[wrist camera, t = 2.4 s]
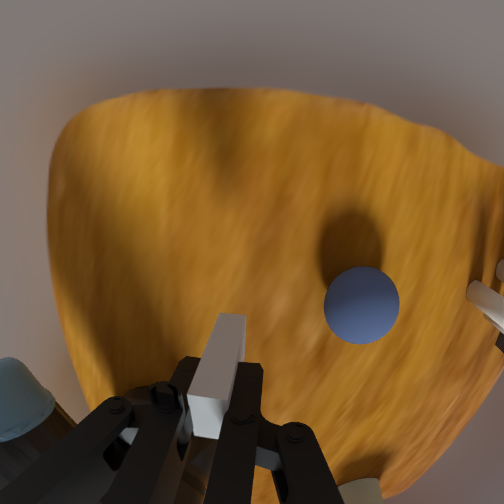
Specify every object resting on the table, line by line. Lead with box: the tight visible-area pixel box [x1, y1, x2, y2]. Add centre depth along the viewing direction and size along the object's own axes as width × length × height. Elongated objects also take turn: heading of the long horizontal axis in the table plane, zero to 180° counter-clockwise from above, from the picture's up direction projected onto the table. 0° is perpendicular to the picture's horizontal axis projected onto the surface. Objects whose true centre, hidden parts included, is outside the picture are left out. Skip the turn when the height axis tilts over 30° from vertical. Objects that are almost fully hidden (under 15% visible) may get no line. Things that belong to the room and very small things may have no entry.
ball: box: [324, 266, 399, 344], centre depth 20 cm, size 6×6×6 cm
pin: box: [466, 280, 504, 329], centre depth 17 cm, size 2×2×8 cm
